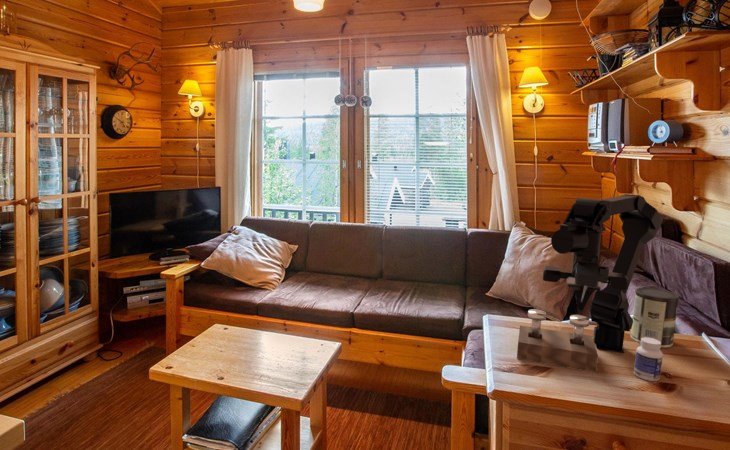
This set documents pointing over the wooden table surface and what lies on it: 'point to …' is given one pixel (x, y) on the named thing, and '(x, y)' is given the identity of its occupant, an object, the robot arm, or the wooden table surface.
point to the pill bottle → (648, 359)
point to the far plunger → (536, 320)
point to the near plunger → (578, 326)
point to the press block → (557, 349)
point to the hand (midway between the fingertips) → (580, 310)
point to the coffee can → (654, 315)
